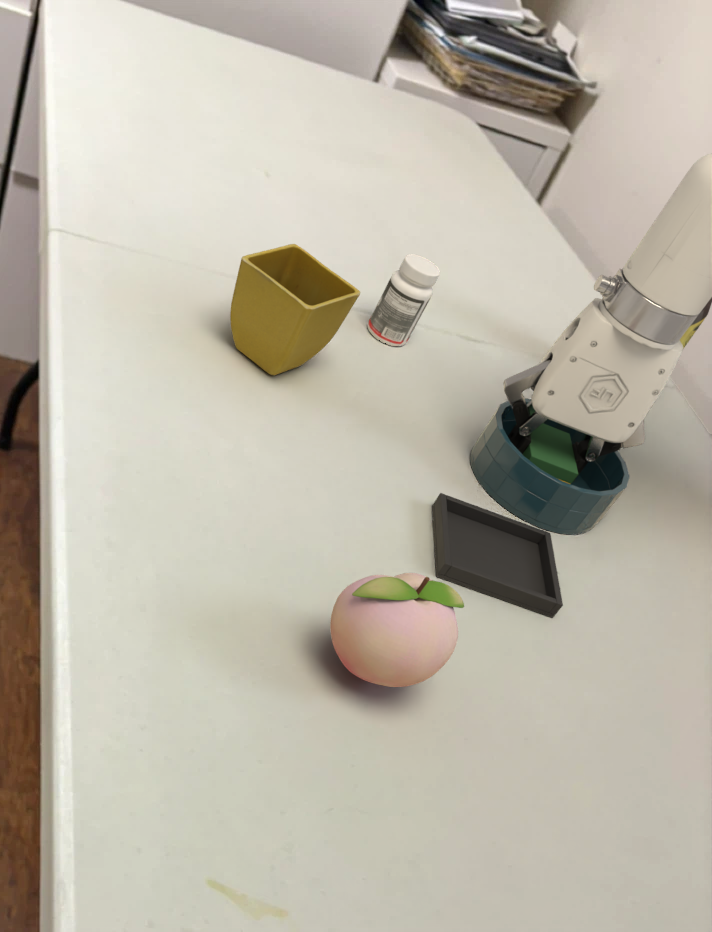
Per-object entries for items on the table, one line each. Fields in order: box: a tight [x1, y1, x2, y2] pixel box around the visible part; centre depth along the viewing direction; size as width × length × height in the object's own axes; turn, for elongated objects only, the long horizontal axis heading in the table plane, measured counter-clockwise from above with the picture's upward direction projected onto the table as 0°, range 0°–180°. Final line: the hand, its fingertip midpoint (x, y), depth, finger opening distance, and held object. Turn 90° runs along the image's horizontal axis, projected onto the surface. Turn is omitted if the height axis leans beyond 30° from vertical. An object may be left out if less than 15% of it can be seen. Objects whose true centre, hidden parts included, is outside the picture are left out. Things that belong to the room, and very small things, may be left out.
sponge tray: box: [431, 492, 564, 619], centre depth 97 cm, size 11×10×2 cm
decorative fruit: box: [329, 572, 465, 688], centre depth 78 cm, size 9×8×10 cm
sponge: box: [522, 423, 578, 484], centre depth 106 cm, size 5×7×4 cm
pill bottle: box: [367, 253, 441, 347], centre depth 116 cm, size 5×5×8 cm
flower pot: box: [229, 243, 361, 376], centre depth 104 cm, size 9×9×9 cm
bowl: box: [469, 397, 630, 536], centre depth 107 cm, size 14×14×5 cm
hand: (531, 471), depth 107 cm, fingers closed on sponge, 5 cm apart
